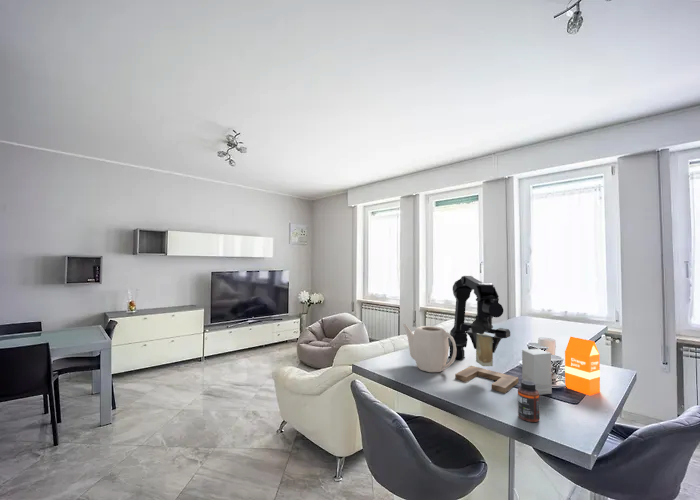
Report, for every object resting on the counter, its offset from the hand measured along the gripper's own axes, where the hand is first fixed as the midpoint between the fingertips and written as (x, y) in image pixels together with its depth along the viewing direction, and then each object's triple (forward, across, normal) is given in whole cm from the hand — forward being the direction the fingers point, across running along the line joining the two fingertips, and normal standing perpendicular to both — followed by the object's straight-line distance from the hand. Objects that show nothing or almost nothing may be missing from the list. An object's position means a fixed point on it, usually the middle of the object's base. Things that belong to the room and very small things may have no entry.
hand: (484, 350), depth 130 cm
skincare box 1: (+6, 0, 0) cm, 6 cm away
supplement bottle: (+13, +22, -21) cm, 33 cm away
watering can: (+13, -25, -3) cm, 28 cm away
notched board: (+13, 0, +2) cm, 13 cm away
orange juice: (+13, +30, +21) cm, 39 cm away
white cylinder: (+13, +15, +34) cm, 40 cm away
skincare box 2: (+13, +18, +5) cm, 23 cm away
